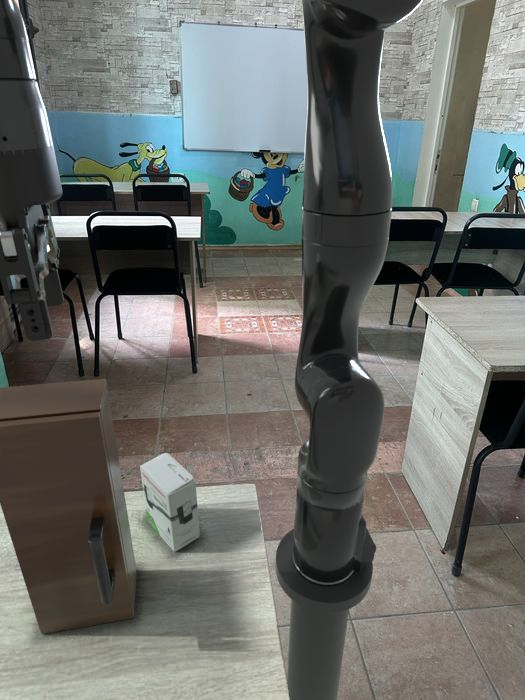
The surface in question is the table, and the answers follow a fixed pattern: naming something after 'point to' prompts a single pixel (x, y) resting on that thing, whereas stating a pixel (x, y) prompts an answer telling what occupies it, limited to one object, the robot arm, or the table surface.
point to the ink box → (170, 501)
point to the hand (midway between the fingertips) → (47, 320)
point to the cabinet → (69, 402)
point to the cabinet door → (64, 520)
